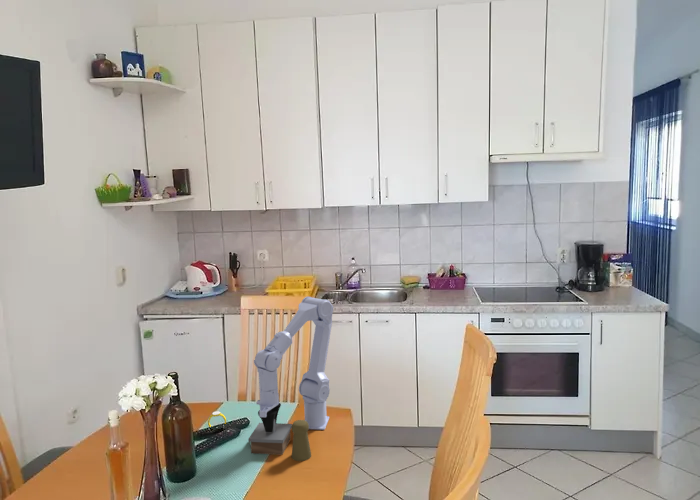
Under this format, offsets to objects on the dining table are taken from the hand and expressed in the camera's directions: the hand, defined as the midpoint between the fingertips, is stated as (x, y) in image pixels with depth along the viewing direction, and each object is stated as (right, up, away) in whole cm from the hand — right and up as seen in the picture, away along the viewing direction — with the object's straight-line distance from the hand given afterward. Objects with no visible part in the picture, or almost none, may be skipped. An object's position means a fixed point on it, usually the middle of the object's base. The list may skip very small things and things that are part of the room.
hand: (270, 429), depth 167 cm
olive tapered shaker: (+10, -6, -6) cm, 14 cm away
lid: (0, -2, 0) cm, 2 cm away
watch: (-20, -5, +14) cm, 25 cm away
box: (0, -6, +1) cm, 6 cm away
